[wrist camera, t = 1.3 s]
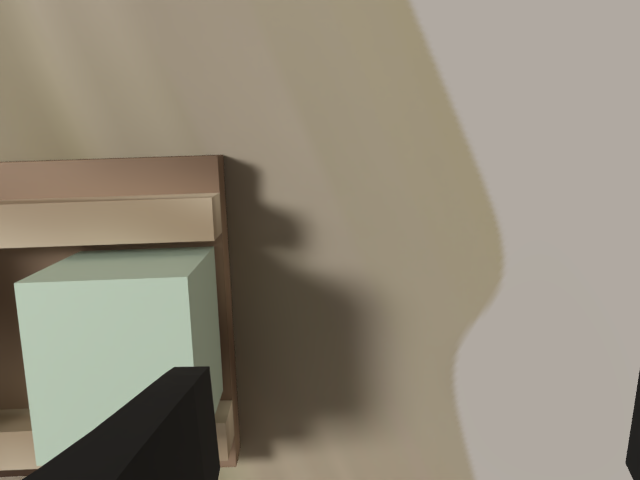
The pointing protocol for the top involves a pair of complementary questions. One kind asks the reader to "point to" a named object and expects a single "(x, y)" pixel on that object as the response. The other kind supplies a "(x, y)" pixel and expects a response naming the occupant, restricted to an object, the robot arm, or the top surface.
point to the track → (106, 234)
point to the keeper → (112, 334)
